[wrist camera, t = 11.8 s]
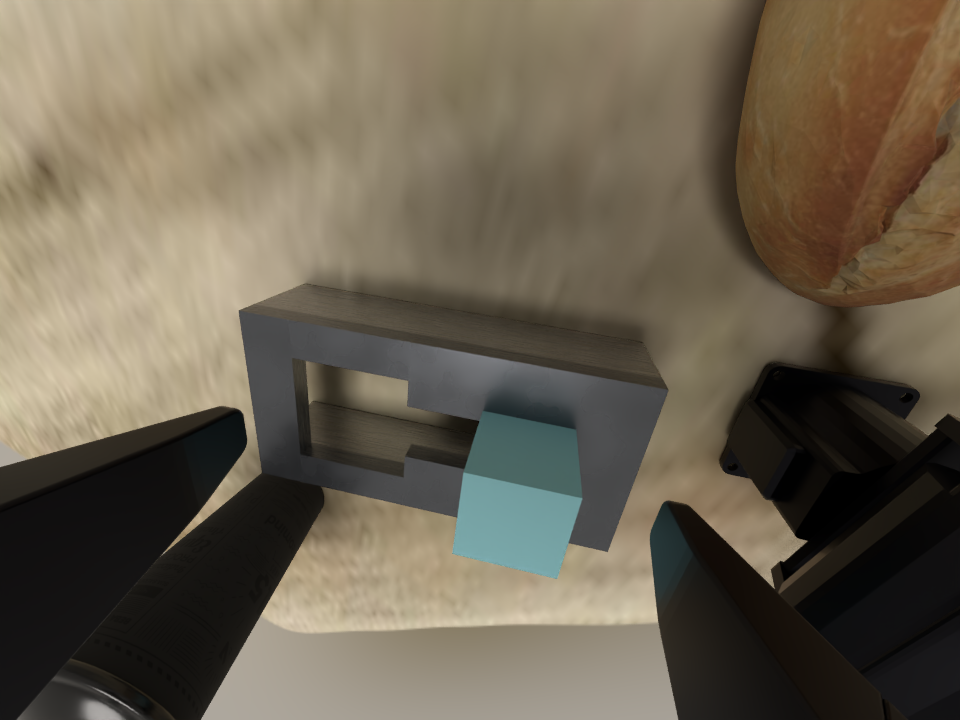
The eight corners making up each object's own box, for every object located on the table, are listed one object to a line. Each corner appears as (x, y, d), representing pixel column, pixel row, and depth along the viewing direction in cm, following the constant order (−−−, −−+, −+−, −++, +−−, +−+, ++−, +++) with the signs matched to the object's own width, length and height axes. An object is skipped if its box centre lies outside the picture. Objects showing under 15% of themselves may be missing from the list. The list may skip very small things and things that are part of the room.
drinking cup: (273, 534, 31) (-127, 1033, 13) (225, 453, 28) (-372, 944, 10) (359, 527, 29) (30, 1108, 11) (316, 441, 26) (-220, 1022, 8)
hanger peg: (577, 386, 20) (590, 495, 13) (558, 456, 22) (561, 583, 15) (490, 370, 20) (458, 466, 13) (480, 439, 22) (446, 556, 15)
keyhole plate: (642, 342, 20) (668, 389, 15) (597, 481, 23) (607, 551, 19) (304, 283, 21) (238, 310, 17) (314, 421, 25) (262, 472, 21)
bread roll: (678, 292, 19) (757, 362, 11) (741, -169, 13) (992, -639, 5) (921, 287, 17) (1195, 366, 10) (1128, -252, 11) (2267, -1111, 4)
